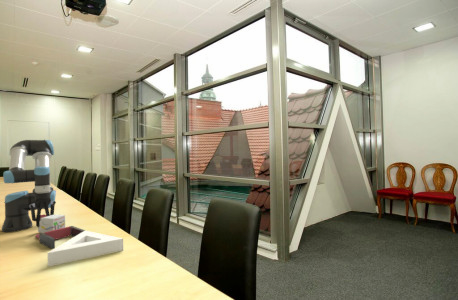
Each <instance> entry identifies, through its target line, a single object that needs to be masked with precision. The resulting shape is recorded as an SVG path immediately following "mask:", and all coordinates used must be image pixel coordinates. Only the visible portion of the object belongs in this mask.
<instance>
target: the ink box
mask: <svg viewBox="0 0 458 300" xmlns="http://www.w3.org/2000/svg"><path fill="white" fill-rule="evenodd" d="M65 227H66V215H65V214H54V215H50V216H47V217H43V218H41V233H44V232H48V231H52V230H56V229H60V228H65Z"/></svg>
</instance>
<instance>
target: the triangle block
mask: <svg viewBox="0 0 458 300" xmlns="http://www.w3.org/2000/svg"><path fill="white" fill-rule="evenodd" d="M121 251H124V238H122V237H119V236H112V235H109V234H104V233H98V232H93V231H89V230H85V231H83V232H82V233H80V234H78V235H77V236H75V237H73V236H72V237H71V238H70V239H69V240H66V241H65V242H64V243H62V244H60V245H59V246H57V247H55V248H54V249H51V250H50V251H48V252H47V267H52V266H56V265H61V264H66V263H71V262H75V261H80V260H85V259H90V258H94V257H95V258H96V257H99V256H103V255H108V254H112V253H116V252H121Z"/></svg>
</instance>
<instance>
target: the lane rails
mask: <svg viewBox="0 0 458 300" xmlns="http://www.w3.org/2000/svg"><path fill="white" fill-rule="evenodd" d="M70 229H71V236H72V238H73V237H75V236H77V235H78V234H80V233H82V232H83V231H86V230H85V229H82V228H80V227H77V226H74V225H70ZM38 234H39V239H38V241H39V244H40V245H43V246H45V247H47V248H49V249H51V250H53V249H55V248H56V242H55V238H53V237H51V236H48V235H46V234H44V233H40V232H39V233H38Z"/></svg>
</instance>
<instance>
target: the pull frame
mask: <svg viewBox="0 0 458 300" xmlns="http://www.w3.org/2000/svg"><path fill="white" fill-rule="evenodd" d="M43 217H47V215H46V214H41V215H40V221H41V218H43ZM70 226H71V225H70ZM70 226H65V228H60V229H56V230H52V231H48V232H44V234H46V235H48V236H51V237H53V238H55V240H59V239H63V238H66V237H70V236H71V229H70ZM40 233H41V232H39V233H38V234H35V235H34V237H35V238H36V239H38V240H39V234H40Z"/></svg>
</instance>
